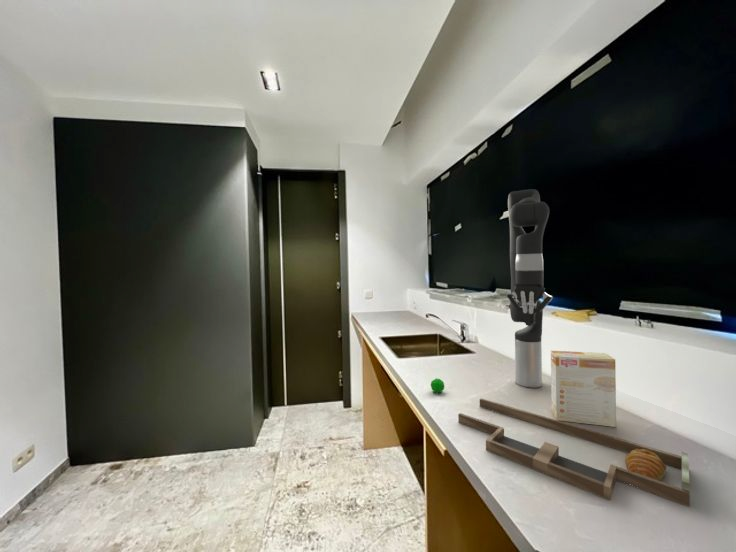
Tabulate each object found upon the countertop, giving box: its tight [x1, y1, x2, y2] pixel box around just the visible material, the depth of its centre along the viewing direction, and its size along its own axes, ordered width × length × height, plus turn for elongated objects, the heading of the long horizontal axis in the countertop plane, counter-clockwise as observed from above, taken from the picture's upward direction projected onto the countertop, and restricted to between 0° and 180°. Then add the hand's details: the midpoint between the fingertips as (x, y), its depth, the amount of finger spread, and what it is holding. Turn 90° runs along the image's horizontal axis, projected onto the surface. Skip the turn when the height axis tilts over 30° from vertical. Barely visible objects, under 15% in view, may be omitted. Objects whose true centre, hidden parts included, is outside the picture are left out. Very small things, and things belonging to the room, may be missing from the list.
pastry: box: [624, 449, 667, 482], centre depth 69 cm, size 9×7×4 cm
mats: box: [498, 435, 608, 483], centre depth 73 cm, size 8×23×1 cm, turn 45°
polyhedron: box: [430, 377, 445, 394], centre depth 116 cm, size 5×5×5 cm
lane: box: [457, 398, 691, 507], centre depth 78 cm, size 23×48×4 cm, turn 45°
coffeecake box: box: [550, 350, 617, 428], centre depth 93 cm, size 15×7×20 cm, turn 71°
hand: (529, 325), depth 96 cm, fingers closed
